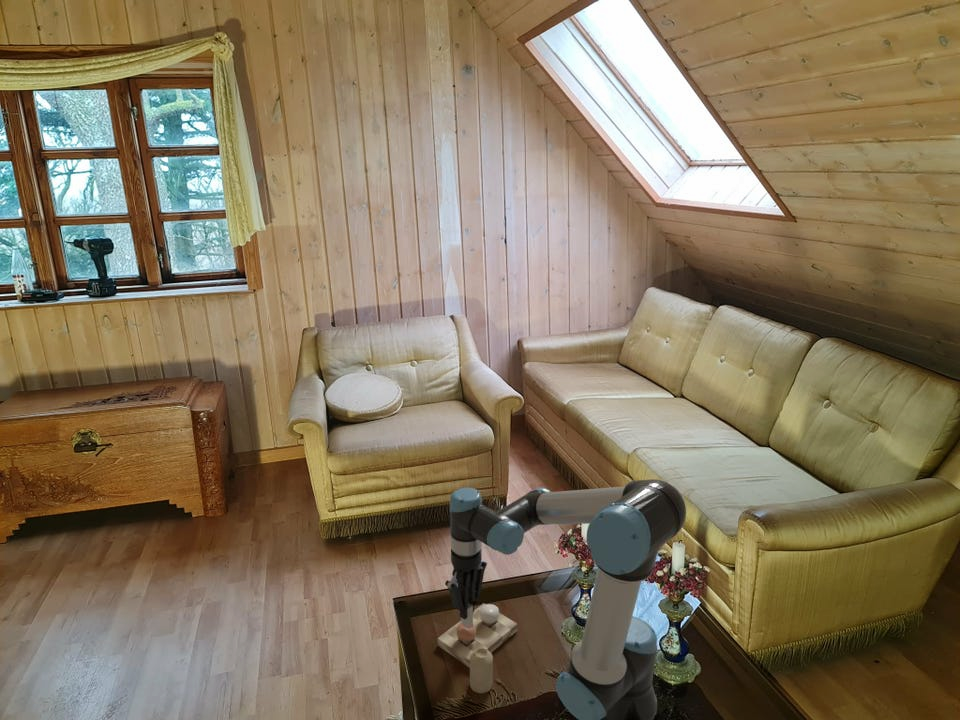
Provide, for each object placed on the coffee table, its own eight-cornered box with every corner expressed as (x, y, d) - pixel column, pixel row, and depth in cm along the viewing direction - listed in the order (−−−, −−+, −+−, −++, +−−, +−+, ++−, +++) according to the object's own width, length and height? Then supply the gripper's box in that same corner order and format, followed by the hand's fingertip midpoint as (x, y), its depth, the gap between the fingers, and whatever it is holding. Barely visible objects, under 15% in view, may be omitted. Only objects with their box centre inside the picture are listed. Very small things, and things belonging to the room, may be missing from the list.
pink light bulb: (480, 642, 185) (480, 627, 183) (466, 653, 182) (466, 638, 180) (465, 633, 188) (465, 618, 186) (452, 643, 185) (452, 628, 183)
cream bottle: (490, 695, 171) (490, 663, 167) (467, 691, 172) (467, 659, 168) (494, 677, 176) (494, 646, 172) (472, 674, 177) (472, 642, 173)
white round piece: (502, 624, 191) (502, 610, 189) (490, 634, 188) (490, 619, 186) (488, 615, 194) (488, 601, 193) (476, 625, 191) (476, 611, 189)
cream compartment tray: (517, 630, 191) (517, 623, 190) (471, 669, 178) (471, 661, 178) (483, 610, 198) (483, 603, 198) (437, 645, 186) (437, 638, 185)
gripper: (472, 530, 181) (473, 605, 189) (436, 554, 172) (438, 632, 180) (495, 542, 176) (494, 619, 185) (458, 567, 167) (460, 646, 176)
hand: (467, 625), depth 182 cm, fingers closed
